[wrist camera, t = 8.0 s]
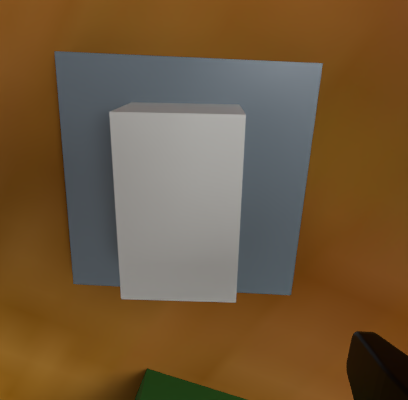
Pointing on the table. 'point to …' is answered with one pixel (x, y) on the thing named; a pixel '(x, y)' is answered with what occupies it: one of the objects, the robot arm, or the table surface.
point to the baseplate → (197, 94)
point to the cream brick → (178, 199)
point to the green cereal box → (176, 389)
